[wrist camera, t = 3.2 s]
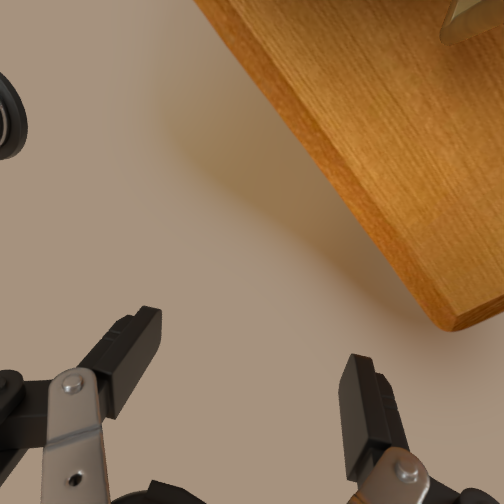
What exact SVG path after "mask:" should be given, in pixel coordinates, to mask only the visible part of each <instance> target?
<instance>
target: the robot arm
mask: <svg viewBox="0 0 504 504" xmlns="http://www.w3.org/2000/svg"><path fill="white" fill-rule="evenodd" d="M10 133H11V119H10V114H9V111H8V108H7V105H6V103H5V101H4V99H3V97H2V96H1V94H0V148H2V147H3V146H4V145H5V144H6V143H7V141H8V139H9V137H10ZM161 329H162V311H161V310H160V309H157V308H152V307H148V306H142V307H141V308H140V310H139V311H138V312H137V313H136V315H135V316H132V315H126V316H125V317H123V318H121V319H119V320H118V321H116V322H115V323H114V325H113V326H112V327H111V328H110V329H109V331H108V332H107V333H106V334H105V335H104V336H103V338H102V339H101V340H100V341H99V342H98V343H97V344H96V345H95V346H94V348H93V349H92V350H91V351H90V352H89V353H88V355H87V356H86V357H85V358H84V359H83V360H82V361H81V362H80V364H79V365H78V366H77V367H76V368H72V369H68V370H66V371H64V372H62V373H60V374H59V375H58V376H56V377H55V378H54V379H52V380H42V381H41V380H40V381H24V380H23V377H22V375H21V374H20V373H19V372H17V371H14V370H1V371H0V487H1V486H2V484H3V483H4V481H5V480H6V479H7V477H8V476H9V474H10V473H11V472H12V471H13V469H14V468H15V467H16V465H17V464H18V462H19V461H20V460H21V458H22V457H23V456H24V454H25V453H26V452H27V450H28V449H29V448H38V447H43V459H42V484H41V504H206V503H205V502H203V501H202V500H200V499H199V498H197V497H196V496H194V495H192V494H191V493H189V492H188V491H186V490H185V489H183V488H180V487H176V486H173V485H169V484H165V483H162V482H158V481H155V480H152V481H151V483H150V485H149V488H148V490H144V491H138V492H133V493H129V494H126V495H124V496H121V497H119V498H117V499H115V500H114V501H112V502H111V500H110V493H109V483H108V476H107V475H108V474H107V466H106V458H105V448H104V440H103V431H102V422H103V420H104V419H105V417H107V418H111V419H114V420H115V419H116V418H117V416H118V415H119V413H120V411H121V410H122V408H123V406H124V405H125V403H126V401H127V400H128V398H129V396H130V395H131V393H132V391H133V390H134V388H135V386H136V385H137V383H138V382H139V380H140V378H141V377H142V375H143V373H144V372H145V370H146V368H147V367H148V365H149V364H150V362H151V360H152V359H153V357H154V355H155V354H156V352H157V350H158V348H159V345H160V341H161ZM338 394H339V405H340V416H341V425H342V436H343V446H344V456H345V467H346V477H347V480H349V481H353V482H357V485H358V491H357V492H356V493H355V494H354V495H353V496H352V497H351V499H350V500H349V501H348V503H347V504H499V503H498V502H497V501H496V500H495V499H494V498H493V497H491V496H490V495H488V494H487V493H485V492H483V491H481V490H479V489H475V488H467V489H465V490H463V491H462V492H461V494H459V493H458V492H456V491H454V490H452V489H450V488H449V487H447V486H445V485H444V484H442V483H440V482H438V481H436V480H435V479H433V478H432V477H430V476H429V475H428V472H427V470H426V468H425V466H424V465H423V464H422V463H421V461H420V460H419V459H418V458H417V457H416V456H415V455H413V454H412V453H411V452H410V450H409V446H408V443H407V439H406V436H405V433H404V429H403V425H402V422H401V418H400V415H399V412H398V411H397V409H398V408H397V404H396V401H395V397H394V394H393V390H392V387H391V385H390V384H389V382H388V381H387V379H386V378H385V376H384V375H383V374H380V373H376V372H375V369H374V365H373V361H372V359H371V358H370V357H365V356H361V355H357V354H351V355H350V357H349V360H348V362H347V364H346V367H345V369H344V372H343V375H342V377H341V380H340V384H339V392H338Z"/></svg>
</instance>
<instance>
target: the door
mask: <svg viewBox="0 0 504 504" xmlns="http://www.w3.org/2000/svg"><path fill="white" fill-rule="evenodd" d="M502 24H504V0H451V3H450V6H449V8H448V11H447V14H446V17H445V19H444V22H443V25H442V28H441V30H440V40H441V42H442V43H443V44H444V45H447V46H451V45H454V44H457V43H459V42H462V41H464V40H466V39H469V38H471V37H474V36H476V35H478V34H481V33H483V32H486V31H488V30H490V29H493V28H495V27H498V26H500V25H502Z"/></svg>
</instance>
